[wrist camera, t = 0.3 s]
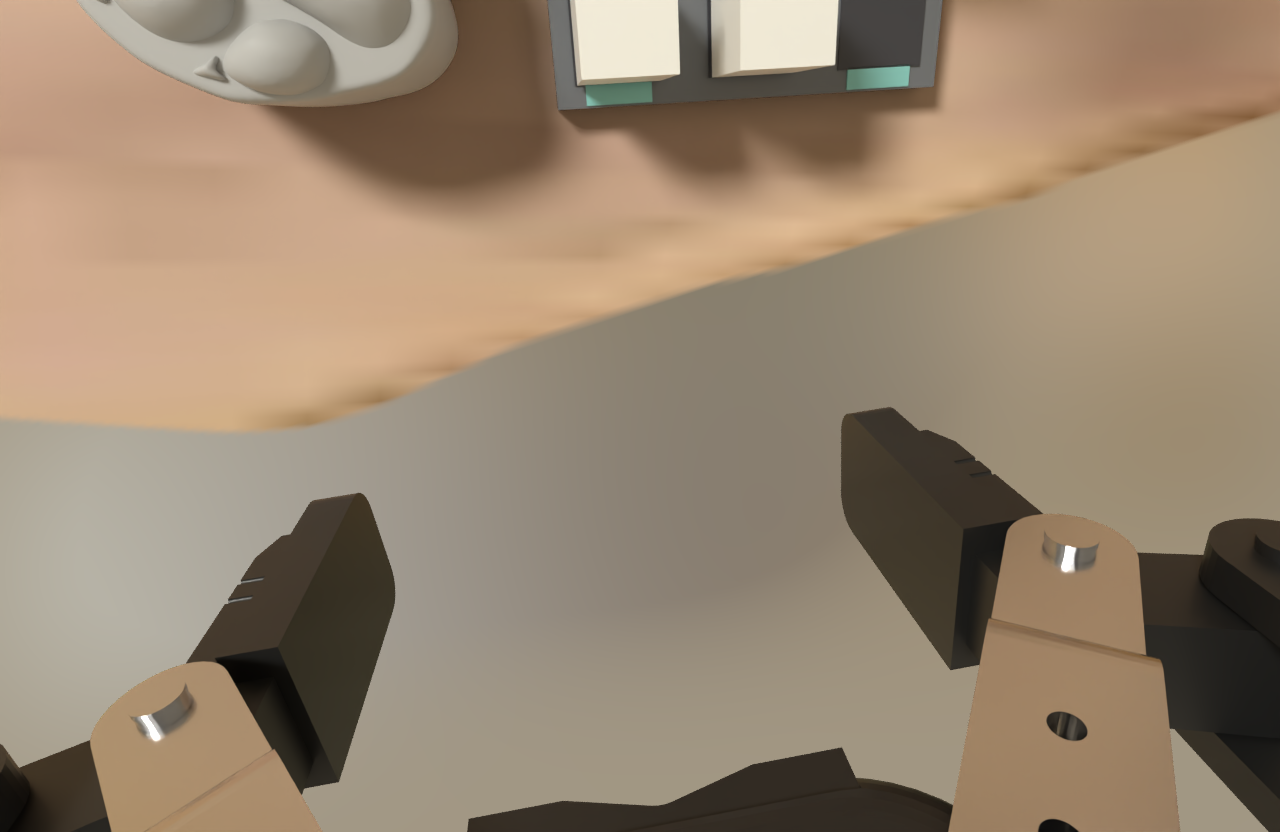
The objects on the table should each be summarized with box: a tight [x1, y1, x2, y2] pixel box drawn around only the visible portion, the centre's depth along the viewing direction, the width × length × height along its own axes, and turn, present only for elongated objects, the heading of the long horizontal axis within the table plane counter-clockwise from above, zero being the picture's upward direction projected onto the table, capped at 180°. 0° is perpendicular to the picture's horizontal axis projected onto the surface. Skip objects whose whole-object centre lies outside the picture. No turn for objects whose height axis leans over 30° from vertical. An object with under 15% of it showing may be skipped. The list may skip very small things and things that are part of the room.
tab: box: [570, 0, 680, 86], centre depth 29 cm, size 4×4×6 cm
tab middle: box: [711, 0, 838, 78], centre depth 30 cm, size 4×4×6 cm
